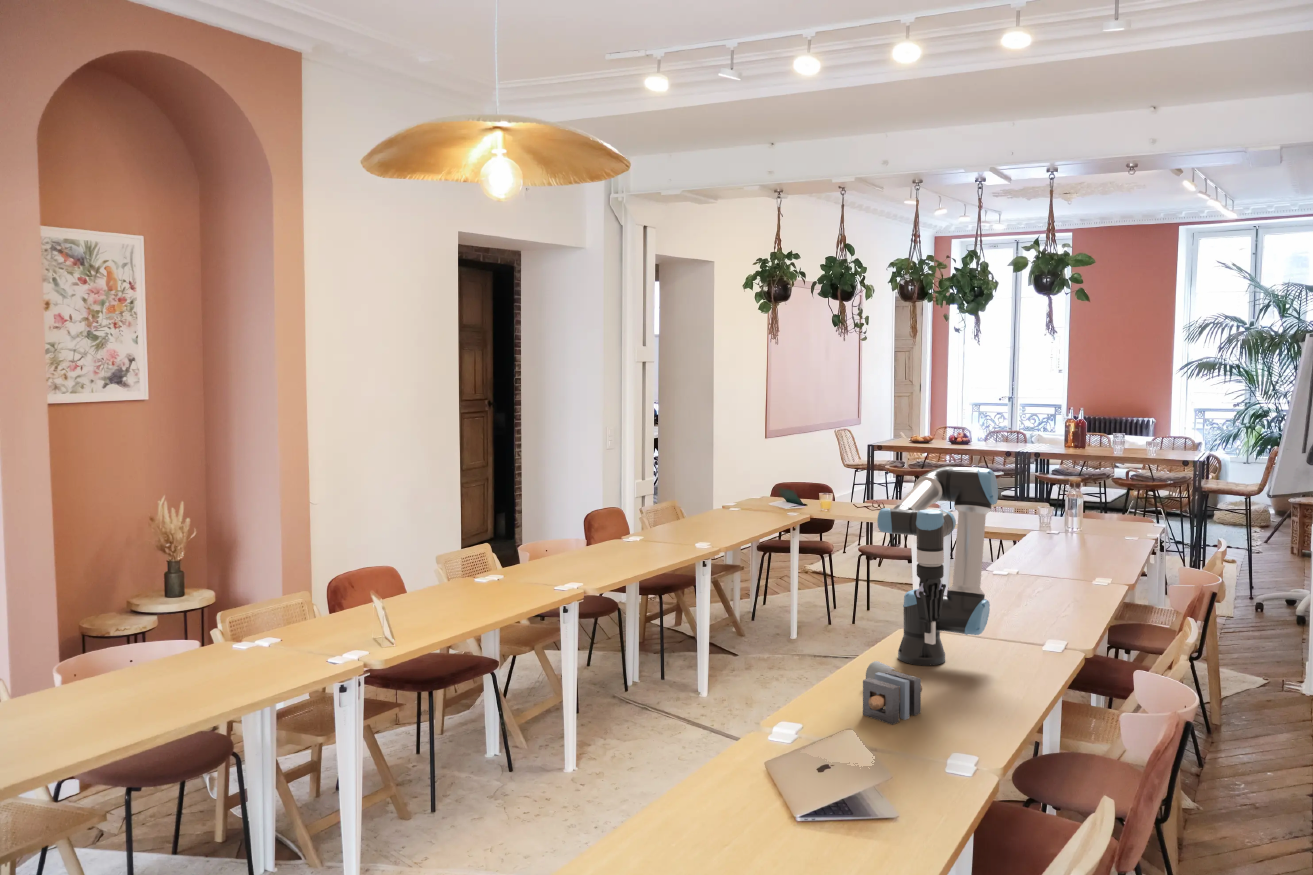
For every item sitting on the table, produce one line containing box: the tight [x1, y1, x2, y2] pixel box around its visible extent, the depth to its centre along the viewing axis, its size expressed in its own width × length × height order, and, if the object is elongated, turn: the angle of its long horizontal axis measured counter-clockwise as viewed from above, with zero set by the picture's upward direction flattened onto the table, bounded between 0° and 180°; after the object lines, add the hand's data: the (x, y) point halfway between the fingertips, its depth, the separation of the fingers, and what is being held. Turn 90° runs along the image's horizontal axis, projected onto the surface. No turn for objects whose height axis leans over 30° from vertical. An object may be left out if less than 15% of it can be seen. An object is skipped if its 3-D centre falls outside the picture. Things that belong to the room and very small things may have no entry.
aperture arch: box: [875, 672, 910, 721], centre depth 274 cm, size 2×10×11 cm, turn 40°
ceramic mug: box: [865, 660, 899, 679], centre depth 296 cm, size 11×8×8 cm
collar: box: [862, 678, 900, 725], centre depth 271 cm, size 3×10×10 cm, turn 40°
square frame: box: [885, 670, 922, 717], centre depth 277 cm, size 3×10×10 cm, turn 40°
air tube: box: [869, 685, 923, 710], centre depth 275 cm, size 20×4×4 cm, turn 130°
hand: (930, 642), depth 285 cm, fingers closed
